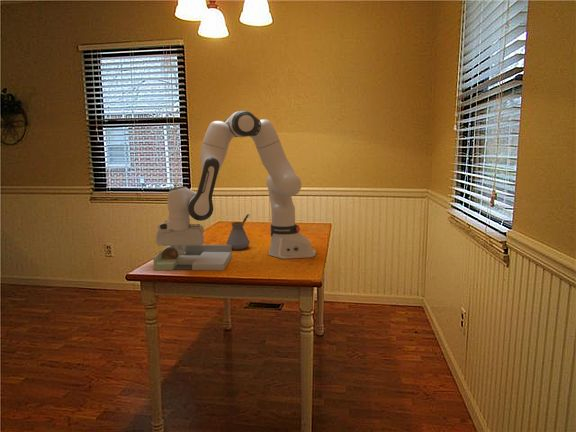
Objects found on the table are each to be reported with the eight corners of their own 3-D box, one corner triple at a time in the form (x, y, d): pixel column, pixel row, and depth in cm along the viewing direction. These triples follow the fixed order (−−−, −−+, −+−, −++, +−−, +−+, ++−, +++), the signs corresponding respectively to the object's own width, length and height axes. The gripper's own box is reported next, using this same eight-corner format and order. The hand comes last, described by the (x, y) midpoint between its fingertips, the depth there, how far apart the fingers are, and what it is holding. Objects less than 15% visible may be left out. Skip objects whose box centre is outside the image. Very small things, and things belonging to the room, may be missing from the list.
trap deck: (231, 256, 186) (231, 244, 185) (223, 270, 165) (223, 257, 164) (170, 256, 187) (169, 244, 186) (154, 270, 166) (153, 257, 165)
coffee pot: (244, 251, 194) (243, 221, 191) (222, 250, 197) (221, 220, 194) (259, 241, 214) (258, 214, 212) (239, 240, 217) (238, 213, 215)
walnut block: (178, 256, 178) (178, 247, 177) (175, 259, 173) (175, 250, 172) (167, 256, 178) (167, 247, 177) (164, 259, 173) (163, 250, 172)
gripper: (204, 222, 175) (206, 253, 178) (158, 222, 176) (160, 253, 178) (201, 225, 169) (203, 257, 172) (153, 225, 170) (155, 257, 172)
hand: (181, 255), depth 175 cm, fingers closed
